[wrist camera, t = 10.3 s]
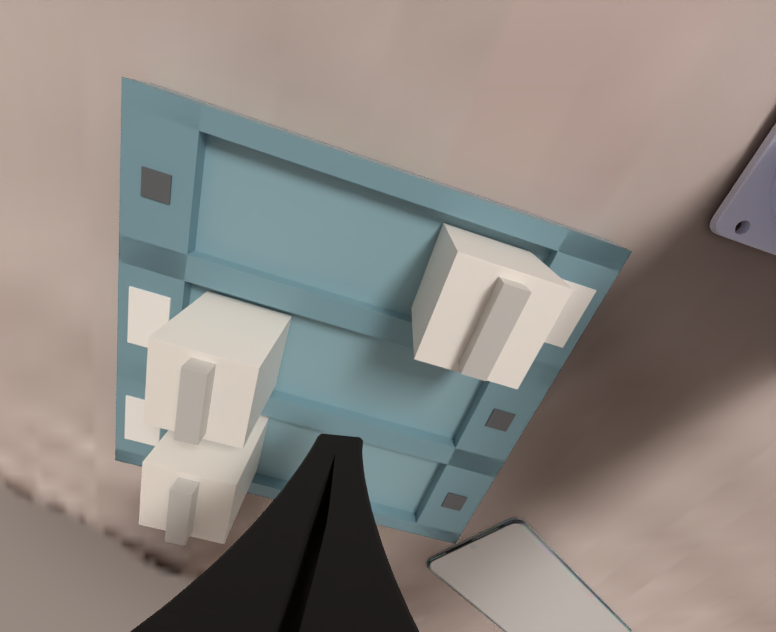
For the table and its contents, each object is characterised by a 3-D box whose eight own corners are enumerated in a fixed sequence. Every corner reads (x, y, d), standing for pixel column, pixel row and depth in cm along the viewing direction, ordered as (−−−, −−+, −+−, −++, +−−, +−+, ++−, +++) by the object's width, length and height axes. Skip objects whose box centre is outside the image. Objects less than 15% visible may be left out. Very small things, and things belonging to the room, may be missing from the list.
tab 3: (530, 251, 14) (582, 297, 10) (491, 332, 16) (523, 401, 12) (443, 222, 14) (460, 257, 10) (411, 307, 16) (414, 369, 11)
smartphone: (546, 666, 28) (422, 564, 24) (544, 657, 29) (422, 555, 24) (636, 635, 26) (519, 517, 22) (632, 626, 27) (517, 509, 22)
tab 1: (291, 315, 16) (252, 378, 12) (276, 384, 17) (236, 461, 13) (207, 290, 16) (136, 346, 11) (198, 362, 17) (132, 435, 13)
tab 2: (269, 416, 18) (229, 498, 14) (257, 469, 20) (217, 558, 15) (195, 396, 18) (132, 475, 14) (188, 452, 19) (129, 538, 15)
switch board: (609, 240, 15) (632, 252, 14) (451, 517, 22) (455, 544, 21) (152, 83, 13) (120, 77, 12) (135, 437, 20) (114, 461, 19)
